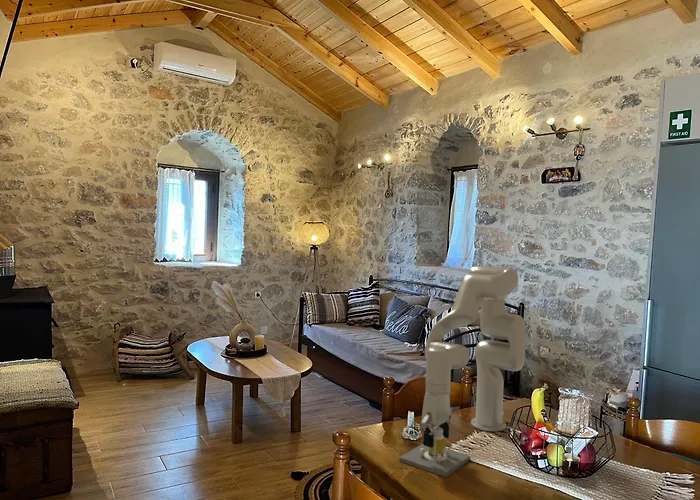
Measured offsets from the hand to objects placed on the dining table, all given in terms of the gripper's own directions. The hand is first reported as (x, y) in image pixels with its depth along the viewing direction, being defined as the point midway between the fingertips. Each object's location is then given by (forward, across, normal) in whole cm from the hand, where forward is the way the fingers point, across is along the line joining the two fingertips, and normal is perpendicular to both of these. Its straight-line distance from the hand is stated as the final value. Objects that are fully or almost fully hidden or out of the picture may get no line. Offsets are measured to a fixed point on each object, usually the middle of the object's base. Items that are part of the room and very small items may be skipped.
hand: (436, 441), depth 166 cm
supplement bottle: (+5, 0, 0) cm, 5 cm away
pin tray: (+6, 0, 0) cm, 6 cm away
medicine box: (+6, -20, +32) cm, 38 cm away
